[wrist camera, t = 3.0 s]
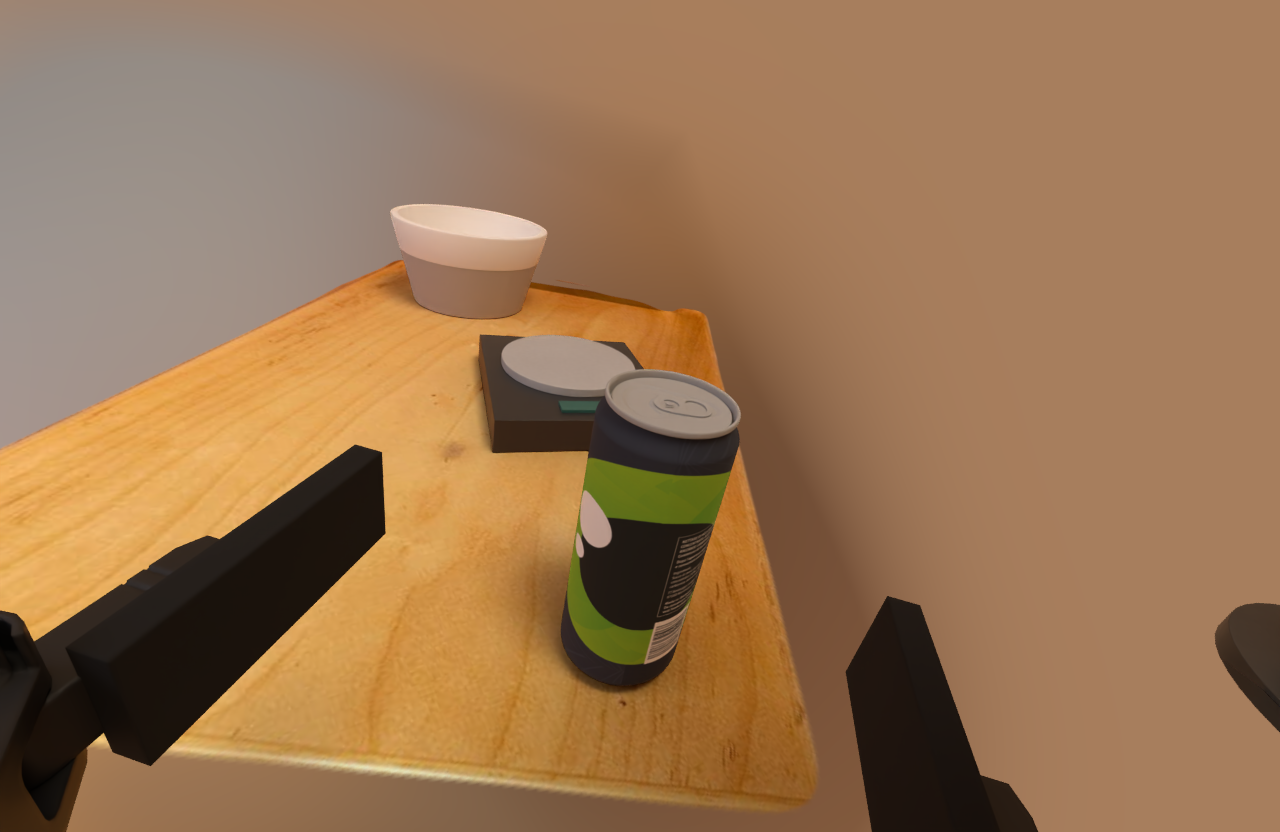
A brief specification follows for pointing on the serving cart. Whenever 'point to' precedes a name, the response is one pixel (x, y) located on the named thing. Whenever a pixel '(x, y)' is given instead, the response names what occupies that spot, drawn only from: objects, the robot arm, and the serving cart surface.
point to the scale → (546, 389)
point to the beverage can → (645, 520)
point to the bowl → (467, 258)
